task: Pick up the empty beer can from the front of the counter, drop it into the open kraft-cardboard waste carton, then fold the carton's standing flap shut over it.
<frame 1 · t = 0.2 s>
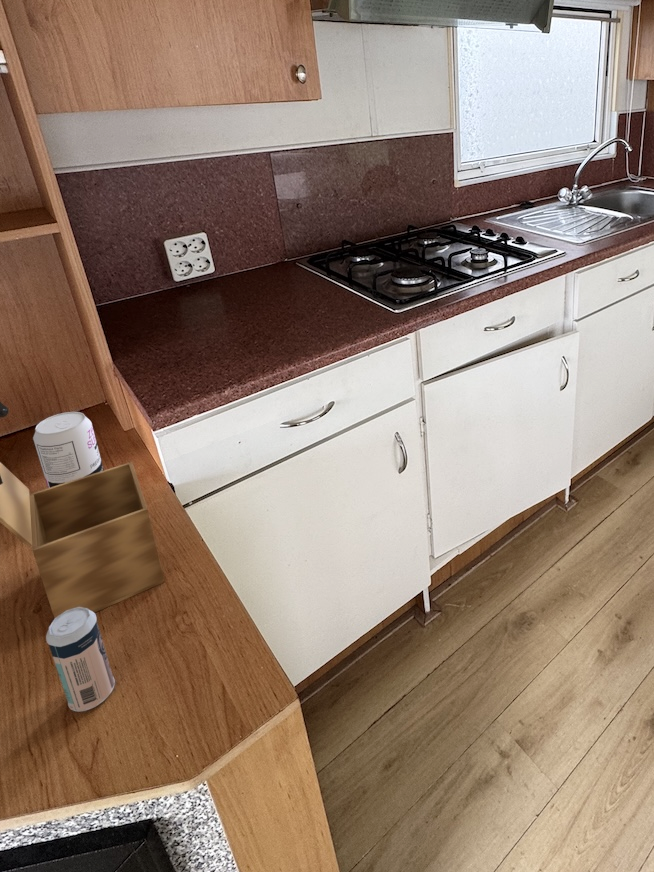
flap: (13, 502, 78), point 17 cm above the counter, hinge at 110.0°
supplement can: (80, 494, 105), on the counter
beer can: (93, 695, 71), on the counter
open box: (107, 574, 88), on the counter
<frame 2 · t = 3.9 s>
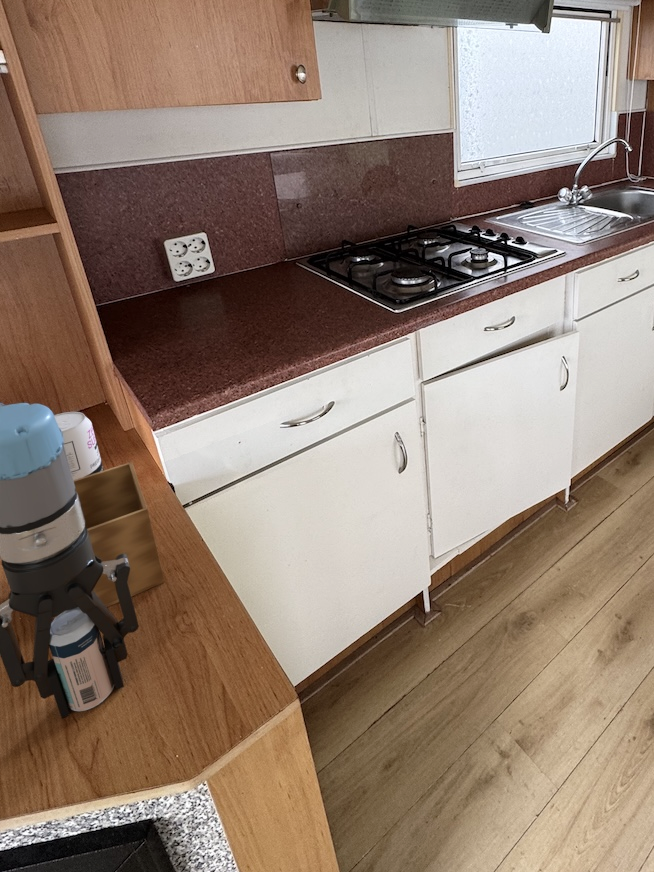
hand: (92, 693, 70), 0 cm above the counter, tool pointing down, fingers closed on beer can, 5 cm apart
beer can: (93, 695, 71), on the counter, touching gripper
everything else where it was.
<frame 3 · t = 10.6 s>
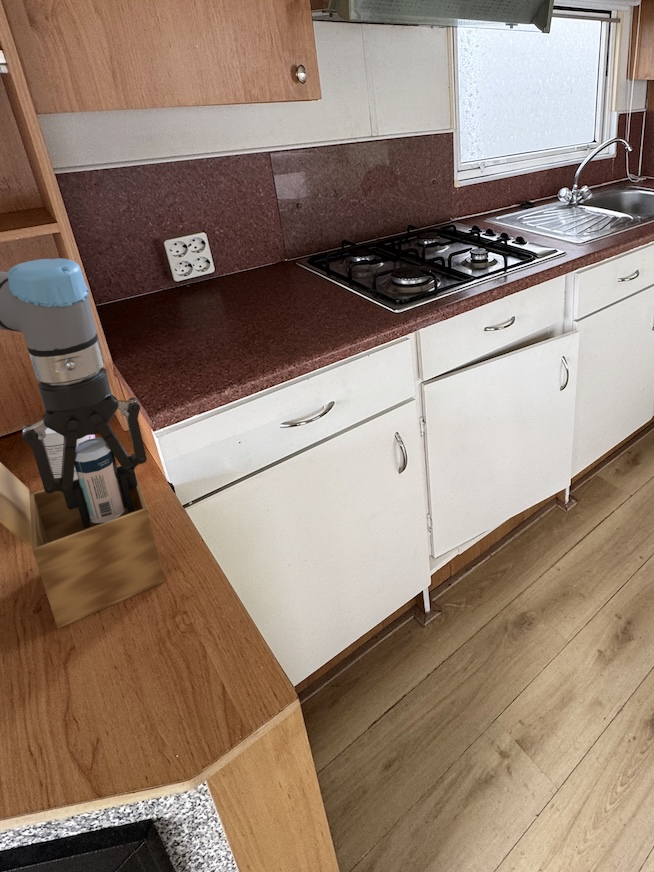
hand: (108, 514, 86), 10 cm above the counter, tool pointing down, fingers closed on beer can, 5 cm apart
beer can: (108, 515, 86), point 10 cm above the counter, touching gripper
everything else where it was.
when the fingers open (13 cm above the counter, at t = 17.2 s): beer can drops 12 cm, resting on open box.
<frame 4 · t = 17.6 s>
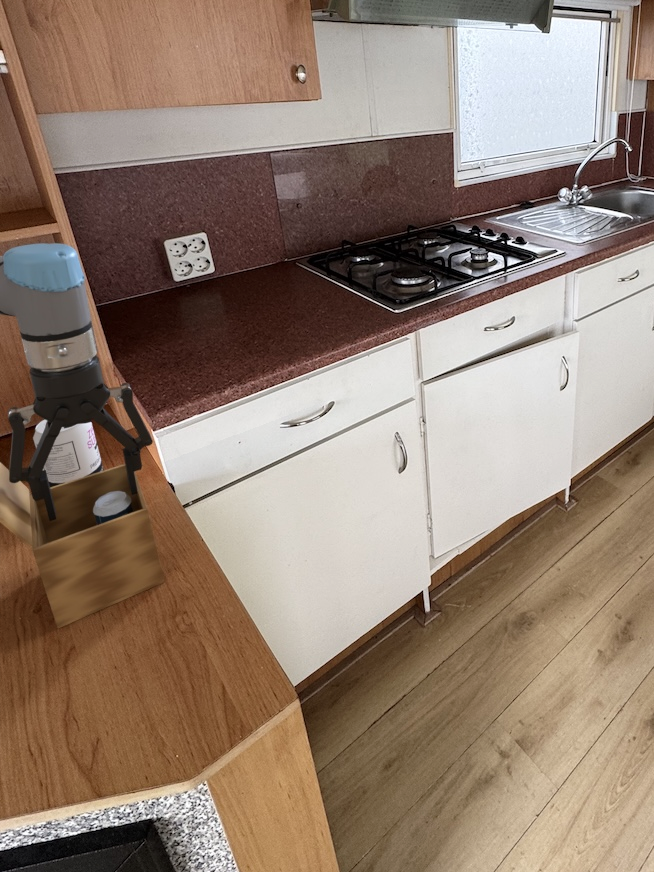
hand: (94, 501, 84), 13 cm above the counter, tool pointing down, fingers open, 9 cm apart
beer can: (126, 564, 89), resting on open box
everything else where it was.
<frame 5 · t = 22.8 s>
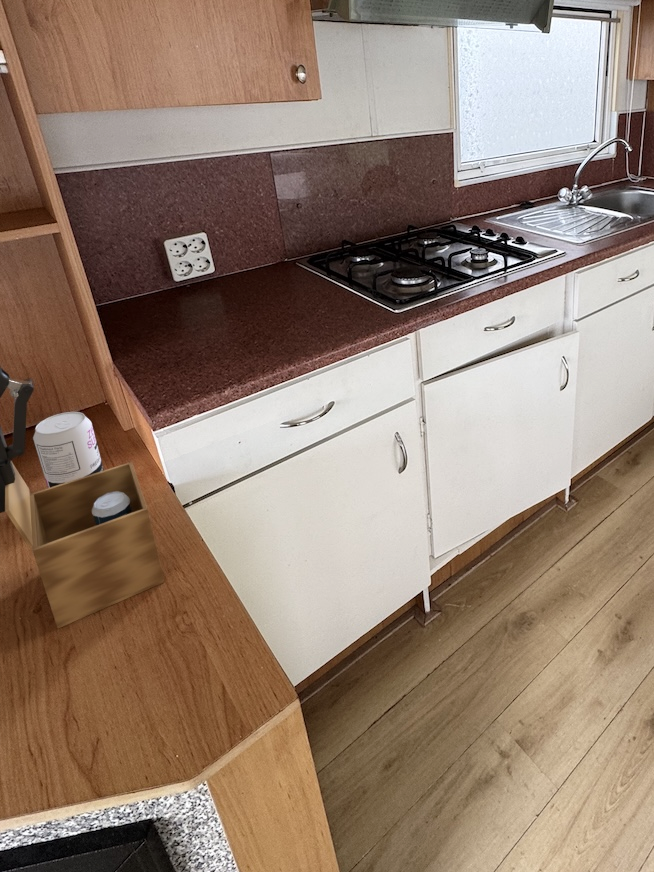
hand: (4, 505, 77), 17 cm above the counter, tool pointing down, fingers closed
flap: (18, 499, 78), point 17 cm above the counter, hinge at 99.7°, touching gripper
everything else where it was.
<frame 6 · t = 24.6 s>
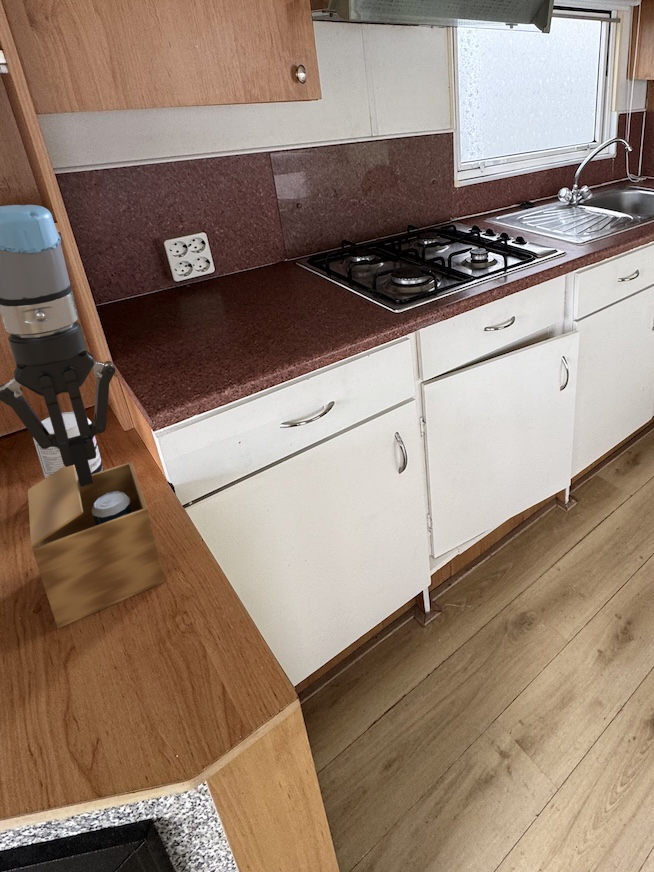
hand: (86, 479, 82), 17 cm above the counter, tool pointing down, fingers closed
flap: (54, 500, 81), point 15 cm above the counter, hinge at 22.9°
everything else where it was.
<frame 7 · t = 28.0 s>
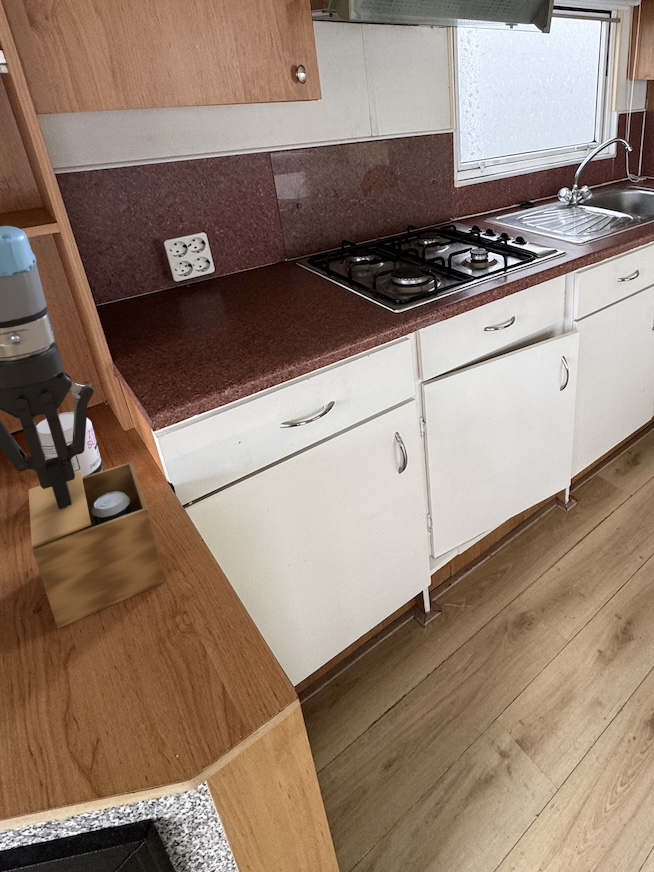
hand: (64, 501, 81), 15 cm above the counter, tool pointing down, fingers closed
flap: (58, 506, 81), point 14 cm above the counter, hinge at 2.0°, touching gripper
everything else where it was.
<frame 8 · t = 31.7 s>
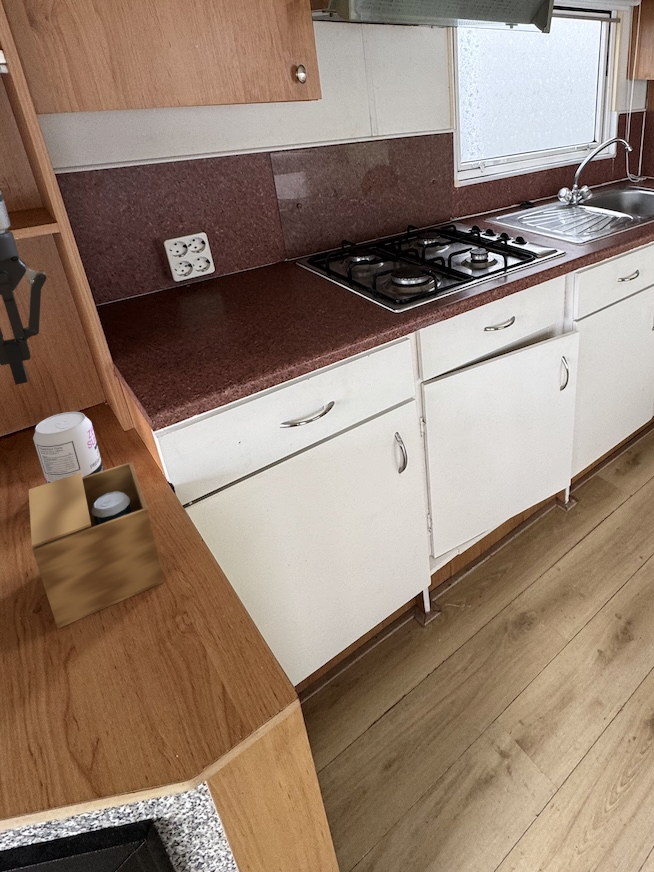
hand: (21, 380, 90), 26 cm above the counter, tool pointing down, fingers closed
flap: (58, 507, 81), point 14 cm above the counter, hinge at 0.8°
everything else where it was.
at the end: beer can inside the target area in the open box (2.5 cm from its centre), point 0.3 cm above the open box's base; flap at +1° (first picture: +110°); supplement can moved 0.2 cm from its start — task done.
